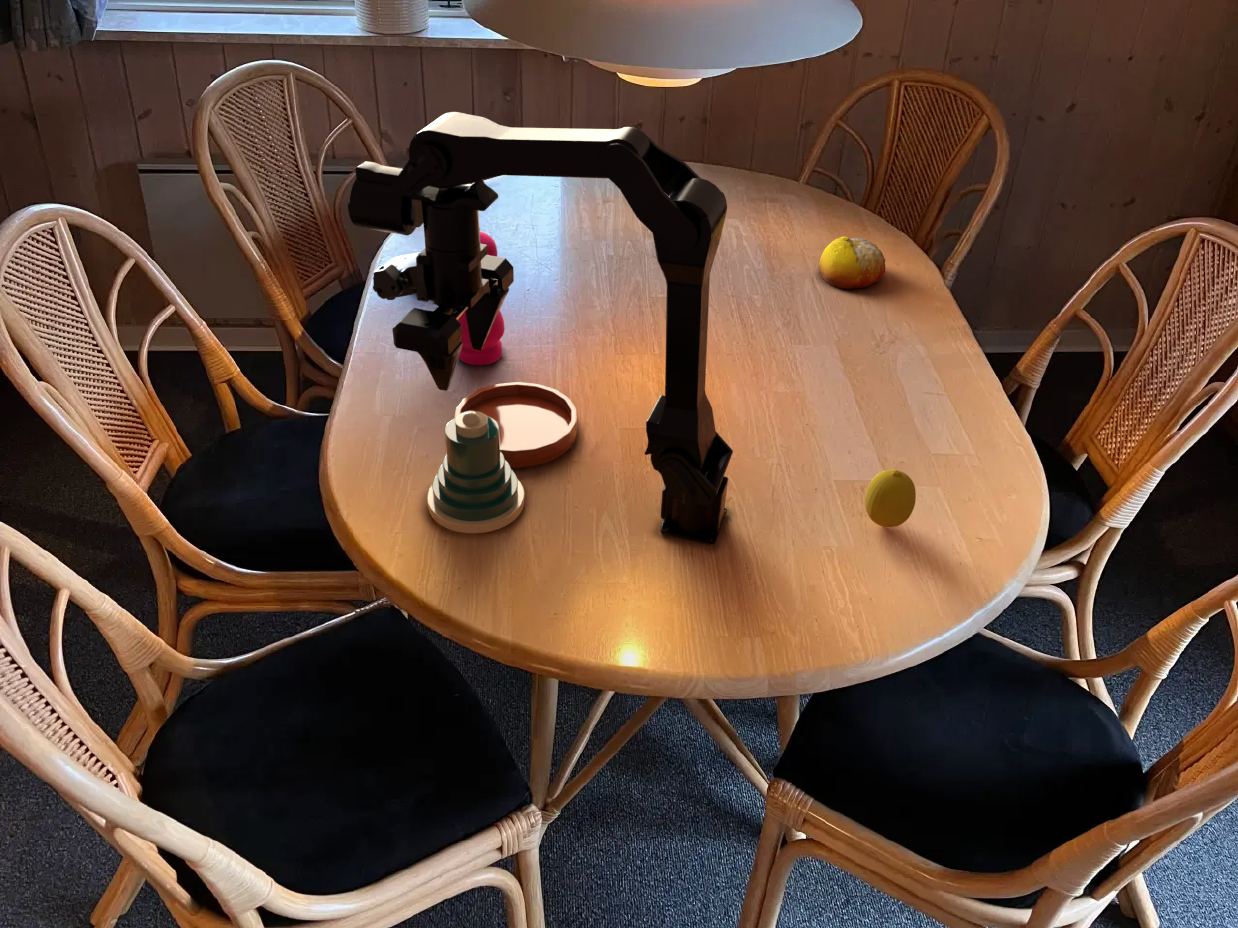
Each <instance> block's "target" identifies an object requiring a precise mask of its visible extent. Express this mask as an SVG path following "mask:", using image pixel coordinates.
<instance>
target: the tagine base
mask: <svg viewBox="0 0 1238 928" xmlns="http://www.w3.org/2000/svg"><path fill="white" fill-rule="evenodd" d="M454 411H455V412H454V418H456V417H457V416H458V415H459V414H461V413H463V412H467V411H478V412H481V413H483V414H485V415H486V416H488V417H491V418H492V419H494V420H495V421H496V422H497V423H498V425H499V437H500V452H501V453H502V454H503V456H504V458H505V460H506V461H507V462H508V464H509V465H510V467H511V468H529V467H535V466H538V465H543V464H546V463H549V462H551V461H553V460H556V459H557V458H559V457H561V456H562V455H563V454H565V453H566V452H567V451H568V450H569V449H571V447H572V446H573V444H574V443H575V441H576V438H577V431H578V414H577V413H578V412H577V411H578V409H577V408H576V406H575V405H574V403H573V402H572V401H571V399H570V398H569V397H568V396H566V395H565V394H563V393H562V392H560V391H559V390H557V389H555V388H552V387H549V386H546V385H543V384H539V383H532V382H524V381H523V382H522V381H515V382H503V383H495V384H492V385H489V386H488V385H487V386H486V387H481V388H479V389H477V390H475V391H474V392H472V393H470V394H469V395H467V396H465V397H464V398H463V399H462V400H461V401H460V403H459V404H458V406H456V407H455V410H454ZM454 418H453V419H454Z"/></svg>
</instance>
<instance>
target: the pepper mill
mask: <svg viewBox="0 0 1238 928" xmlns="http://www.w3.org/2000/svg"><path fill="white" fill-rule="evenodd" d="M479 228H480V229H481V226H480V225H479ZM480 244H485V245H487V247H488V254H487V255H490V256H496V257H498V248H497V244H496V241H495V240H494V239H493V238H492V236H490V235H489V234H488V233H486V232H483V231H480ZM458 321H459V322H460V324H461V326H462V335H461V339H460V341H462V342H463V345H462V348H461V351H460V355H459V358H458V359H459V360H460V361H462V362H464V363H465V364H468V365H471V366H486V365H491V364H493V363H496V362H497V361H498V360H499V359H500V358H501V357H502V355H503V344H502V340H501V338H502V337H503V336H504V334H505V330H506V327H505V319H504V316H503V314H502V312H501V310H499V312H498V314H497V316H496V318H495V321H494V323H493V325H492V327H491V330H490V332H489V334H488V337H487V339H486V341H485V343H484V346H483V348H482V349H481V350H480V351H479V350H474V349H473V348H472V345H471V341H470V336H469V331H468V325H467V319H466V313H465V312H464V313H463V314H462V315H461V316H460V318H459V319H458Z"/></svg>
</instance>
